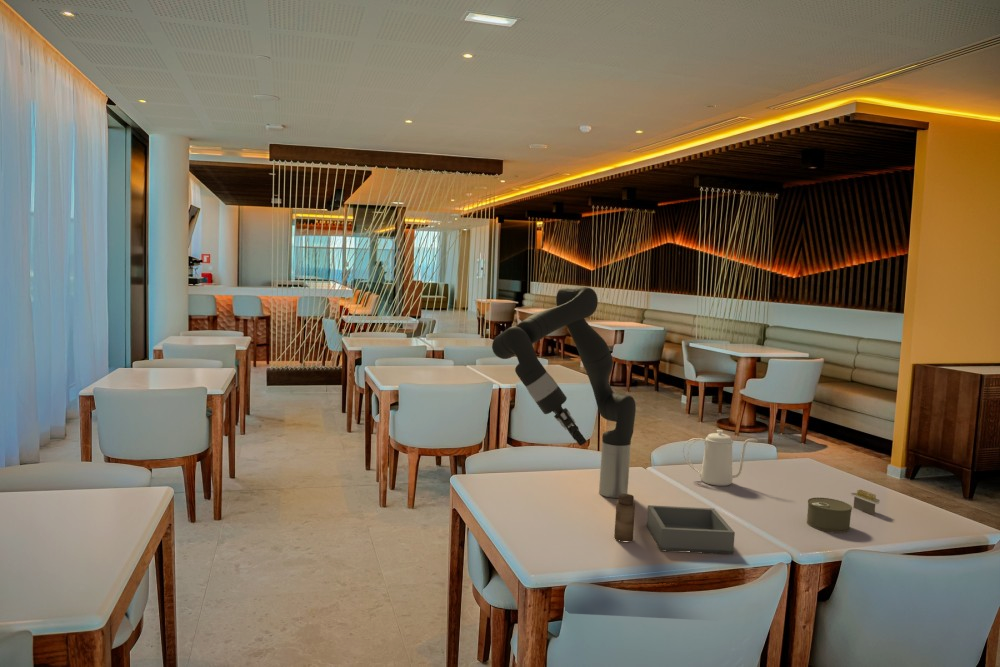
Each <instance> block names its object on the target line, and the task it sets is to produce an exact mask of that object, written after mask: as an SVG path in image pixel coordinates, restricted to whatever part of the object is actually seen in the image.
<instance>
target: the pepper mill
mask: <svg viewBox="0 0 1000 667" xmlns="http://www.w3.org/2000/svg"><path fill="white" fill-rule="evenodd" d="M634 499H635V498H634V495H633V494H630V493H627V494H619V498H618V499H617V501H616V504H615V506H616V507H615V518H614V519H615V520H614V537H613V538H615V539H617V540H620V541H632V540H633V539H634V530H635V528H634V526H635V514H636V513H635V512H636V503H635V502H634ZM615 539H614V540H615ZM617 540H616V541H617ZM633 541H634V540H633ZM633 541H632V542H633Z"/></svg>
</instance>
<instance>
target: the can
mask: <svg viewBox="0 0 1000 667" xmlns="http://www.w3.org/2000/svg"><path fill="white" fill-rule="evenodd" d="M852 510H853V507H852V505H851V504H849V503H847V502H845V501H841V500H838V499H834V498H829V497H811V498H809V499H807V515H806V516H807V518H806V524H807V525H808V526H809V527H811V528H813V529H815V530H818V531H821V532H825V533H831V532H833V533H832V534H845V533H847V531H848V532H849V531H850V525H851V515H852ZM844 532H845V533H844Z"/></svg>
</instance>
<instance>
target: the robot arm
mask: <svg viewBox="0 0 1000 667" xmlns="http://www.w3.org/2000/svg"><path fill="white" fill-rule="evenodd" d="M555 299H556V300H555V303H556V306H553V307H550V308H546V309H544V310H540V311H538V312H535V313H533V314H532V315H530V316H528V317H526V318H524V319H523V320H522V321H520V322H519V323H518V324H517V325H513V326H510V327H508V328H507V329H506V330H504V331H502V332H501V333H499V334H498V335H497V336H495V337H494V339H493V340H492V345H491V348H492V352H493V353H494V354H493V355H494V356H496V357H497V358H499V359H502V360H507V359H508V360H509V359H511V358H513V357H514V356H516V358H517V361H518V364H517V365H516V367H515V368H514V371H515V373H516V375H517V377H518V378H519V380H520V381H521V383H522V384H523V385H524V387H525V388H526V390H527V393H528V394H529V395H530V396H531V398H532V399H533V401H534V402H535V404H536V405H537V407H538V408H539V409H540V411H541V412H542V413H543V414H544V415H548V414H551V413H553V414H554V415H553V417H554V419H555V420H556V421H557V422H558V423H559V424H560V425H561V427H563V429H564V430H566V431H568V433H569V435H570V436H571V437H572V438H573V440H574V441H576V443H577V444H578V446H583V445H584V444H586V443H587V440H586V438H585V437H584V435H583V434H582V433H581V431H580V430H579V429H580V428H579V426H578V425H576V421H575V419H574V418H573V416H572V415H571V412H570V411H569V410H568V408H566V407H564V408H563V406H562V405H563V404H565V403H566V401H567V396H566V395H565V392H563V391H562V389H561V388H560V386H559V385H558V383H557V382H556V381H555V379H554V378H553V377H552V375H550V374H549V372H548V371H547V370H546V369H545V367H544V366H543V364H542V363H541V362H540V360H539V359H538V356H537V353H536V351H535V348H534V345H533V344H536V343H537V342H539V341H540V340H542V339H544V338H545V337H547V336H548V335H549V334H552V333H553V332H555V331H558V330H559V329H561V328H563V327H566V328H567V330H568V332H569V334H570V336H571V338H572V339H573V343H574V344H575V345H574V346H575V347H576V350H577V352H578V355H579V358H580V360H581V362H582V365H583V368H584V370H585V373H586V374H587V377H588V379H589V383H590V386H591V388H592V392H593V395H594V398H595V402H596V406H597V410H598V412H599V414H600V416H601V417H602V419H604V420H607V421H610V422H615V428H614V429H612V430H607V431H604V432H603V433H602V437H601V438H602V439H601V452H600V454H601V457H600V471H599V472H600V474H599V485H598V486H599V488H598V494H599V495H601V496H603V497H606V498H610V499H611V498H613V499H619V494H629V492H628V490H629V478H630V477H629V474H630V460H631V458H630V457H631V442H632V438H633V434H634V428H635V418H636V412H637V410H636V408H637V406H636V401H635V400H636V399H634V397H633V396H632V395H628V394H624V393H618V392H614V391H613V389H612V388H611V384H610V382H609V381H610V380H609V379H610V376H611V374H612V371H613V368H614V367H613V366H614V360H613V357H612V354H611V351H610V348H609V346H608V344H607V342H606V341H605V339H604V338H603V337H602V336H601V335H600V334H599V333H598V332H597V331H596V330H595V329H594V328H593V327H592V326H591V325H590V324H589V323H588V322H587V321H586V319H588V318H589V317H591V316H592V315H593V314H594V313H595V312H596V310H597V308H598V305H599V303H598V302H599V299H598V295H597V292H596V291H595V290H594V289H593V288H591V287H589V286H588V287H587V286H577V285H576V286H575V285H570V286H569V285H567V286H563V287H561V288H560V289H558V291H557V293H556V297H555Z"/></svg>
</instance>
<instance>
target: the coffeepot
mask: <svg viewBox="0 0 1000 667" xmlns="http://www.w3.org/2000/svg"><path fill="white" fill-rule="evenodd" d="M723 432H724V431H723V429H716V432H713V433H712V432H711V433H709V434H707V436H706V437H705V439H704V438H701V437H695V438H690V439H689V440H687V441H686V442H685V443H684V446H683V450H682V453H683V458H684V460H685V462H686V463H687V465H688V466H689V467H690V468H691V469H692V470H694V471H695V472H697V473H699V476H700V480H701V481H702V483H705V484H708V485H711V486H718V487H719V486H720V487H725V486H730V485H731V484H732V483H733V479H735V478H739V476H740V475H741V474H742V470H743V465H744V458H745V452H746V451H745V450H746V446H747V444H748V443H749V442H759V441H758V439H756V438H748V439H746V440H745V441H744V442H743V445H742V451H741V457H740V461H739V467H738V472H737V473H736V474H735V475H734V474H733V444H734V441H733V440H732V437H731V436H730V435H729V434H725V433H723ZM693 440H694V441H693ZM690 441H693V442H691V444H690V446H689V447H688V450H687V458H686V455H685V446H686V444H688V443H689V442H690ZM698 441H702V442H703V441H704V451H703V458H702V465H701V470H700V471H699V469H697V468H695V466H694V465H693V464H692V461H691V460H690V457H689V456H690V452H689V451H690V449H691V446H692V445H693V444H694V443H695V442H698ZM687 459H688V460H687Z"/></svg>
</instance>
